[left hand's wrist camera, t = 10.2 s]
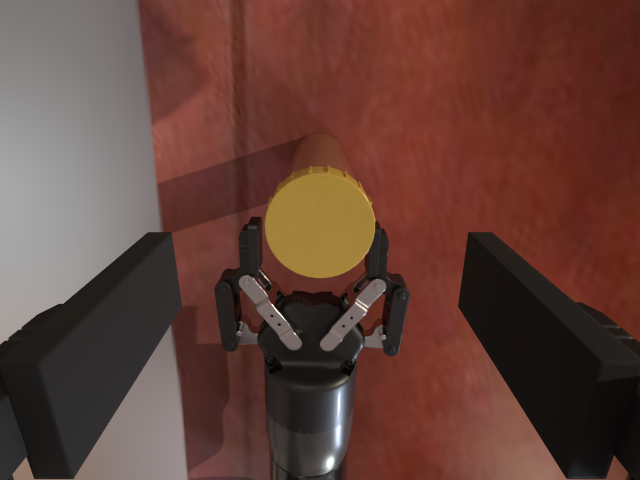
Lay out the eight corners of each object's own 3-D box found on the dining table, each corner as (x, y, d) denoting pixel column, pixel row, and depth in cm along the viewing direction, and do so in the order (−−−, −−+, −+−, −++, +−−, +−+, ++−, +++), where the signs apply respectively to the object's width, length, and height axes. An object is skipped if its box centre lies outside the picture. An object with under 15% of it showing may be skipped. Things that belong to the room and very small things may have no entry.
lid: (265, 261, 20) (261, 276, 18) (268, 160, 18) (264, 167, 16) (365, 268, 20) (369, 283, 18) (378, 168, 18) (383, 176, 17)
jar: (291, 184, 34) (267, 267, 18) (294, 130, 33) (271, 171, 17) (343, 188, 34) (364, 274, 19) (349, 135, 33) (376, 179, 17)
